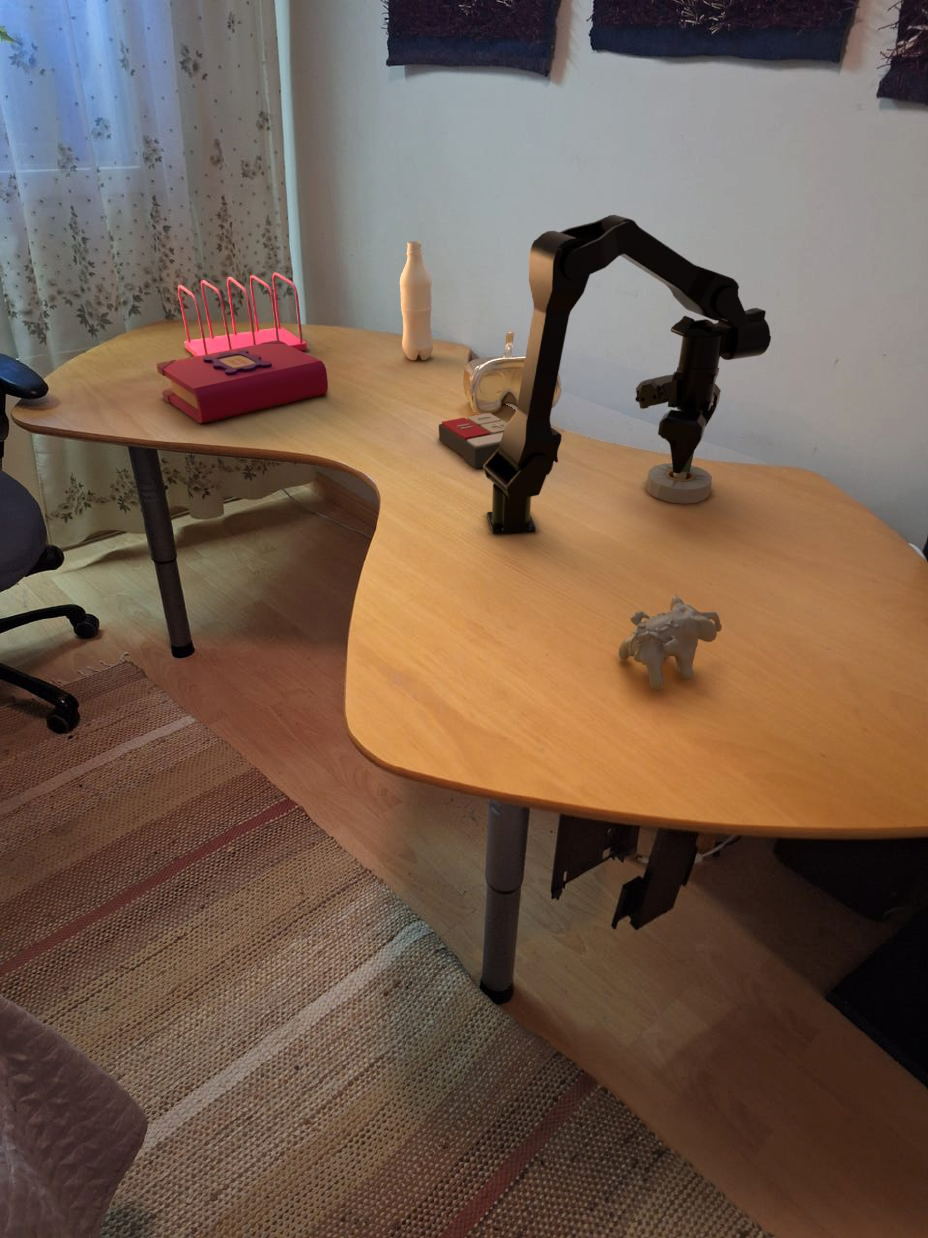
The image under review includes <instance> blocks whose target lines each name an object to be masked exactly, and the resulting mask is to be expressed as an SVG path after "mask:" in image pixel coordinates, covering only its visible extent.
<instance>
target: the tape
mask: <svg viewBox="0 0 928 1238" xmlns="http://www.w3.org/2000/svg"><path fill="white" fill-rule="evenodd" d="M672 467H673V466H672V462H666V463H661V464H657V465H654V466H652V467H651V468H650V469H648V472H647V479H646V485H645V490H646V491H647V492H648V493H649V494H650V495H651V496H652V497H654V498H656V499H658V500H660V501H665V502H667V503H673V504H682V505H683V504H685V505H686V504H696V503H699V502H701V501H704V500H706V499H707V498H708V497H709V496H710V493H711V489H712V488H711V487H712V483H713V476H712V475H711V474H710V473H709V472H708V471H707V470H706V469H703V468H702V467H699V466H697V465H693V464H691V469H690V472H687V476H686V480H678V479H674V478H673V473H674V472H673V469H672Z"/></svg>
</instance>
